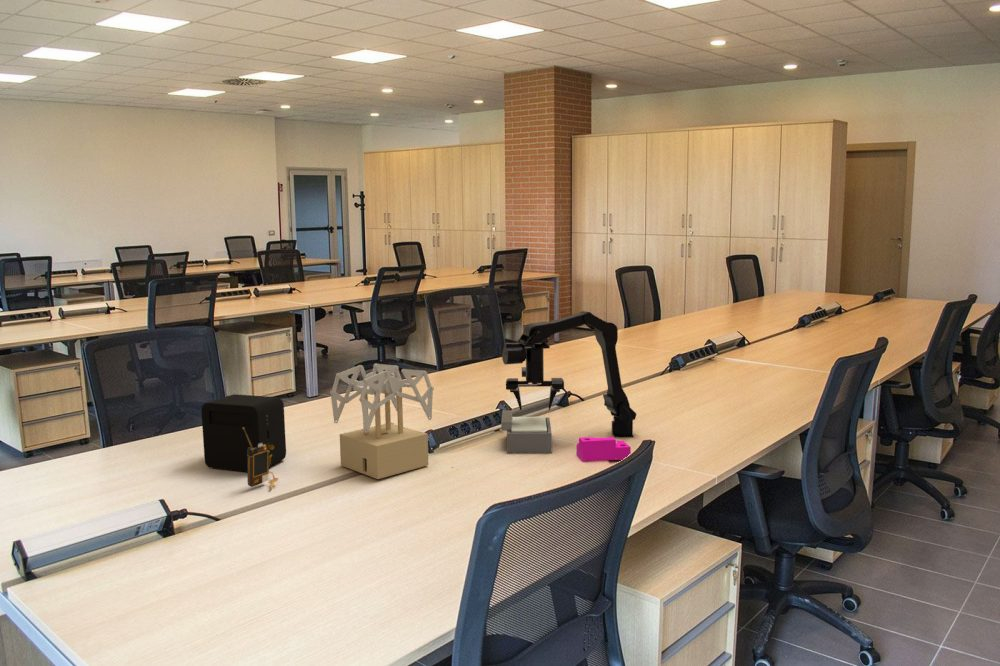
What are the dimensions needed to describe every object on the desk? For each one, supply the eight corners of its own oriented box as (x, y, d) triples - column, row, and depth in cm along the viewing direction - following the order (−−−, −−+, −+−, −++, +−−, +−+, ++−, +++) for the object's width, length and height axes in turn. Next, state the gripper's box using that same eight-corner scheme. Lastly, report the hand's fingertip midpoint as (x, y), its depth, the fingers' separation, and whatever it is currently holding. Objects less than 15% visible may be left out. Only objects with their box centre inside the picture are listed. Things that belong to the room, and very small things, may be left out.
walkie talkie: (253, 494, 207) (249, 429, 205) (224, 485, 215) (220, 422, 213) (292, 481, 218) (289, 419, 215) (264, 473, 225) (260, 413, 223)
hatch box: (549, 435, 263) (549, 417, 262) (551, 453, 242) (551, 433, 241) (508, 435, 263) (508, 417, 262) (507, 453, 242) (506, 433, 241)
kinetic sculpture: (368, 481, 216) (365, 376, 213) (330, 466, 231) (325, 368, 227) (436, 462, 233) (434, 365, 230) (396, 450, 248) (393, 357, 244)
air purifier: (290, 459, 239) (287, 396, 236) (261, 473, 225) (257, 406, 223) (235, 454, 245) (232, 392, 243) (204, 467, 232) (200, 402, 229)
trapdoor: (545, 418, 260) (545, 409, 260) (547, 432, 242) (546, 422, 242) (502, 418, 261) (502, 409, 261) (501, 432, 243) (501, 422, 243)
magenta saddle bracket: (582, 441, 232) (576, 435, 239) (582, 461, 232) (576, 454, 240) (630, 438, 234) (623, 432, 241) (630, 458, 235) (622, 452, 242)
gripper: (562, 358, 257) (562, 404, 259) (506, 358, 257) (506, 404, 259) (564, 363, 246) (564, 411, 248) (505, 364, 246) (506, 412, 248)
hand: (535, 409), depth 251 cm, fingers open, 9 cm apart
